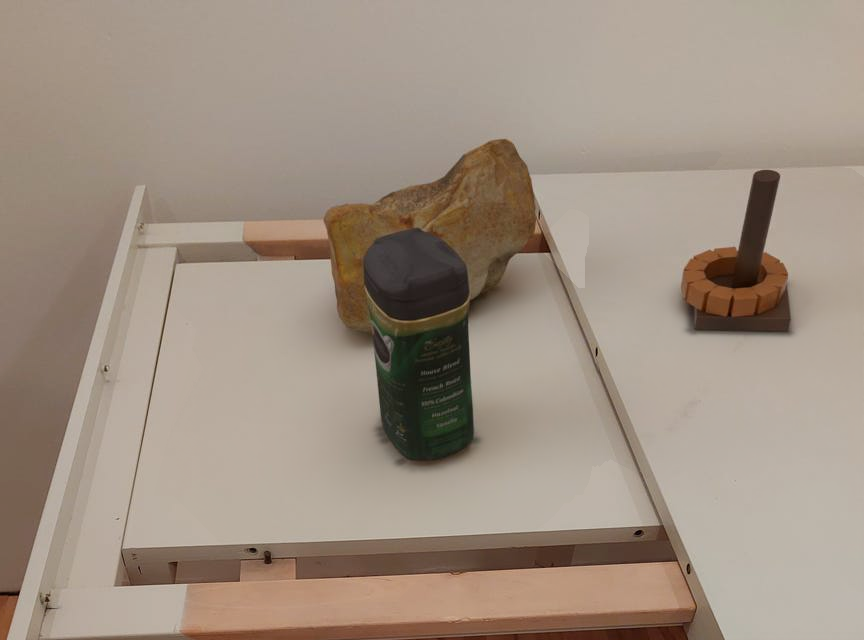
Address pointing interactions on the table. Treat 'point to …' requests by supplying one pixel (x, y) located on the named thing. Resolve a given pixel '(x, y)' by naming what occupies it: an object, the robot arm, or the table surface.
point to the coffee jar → (421, 343)
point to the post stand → (751, 264)
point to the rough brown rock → (440, 223)
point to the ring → (729, 299)
